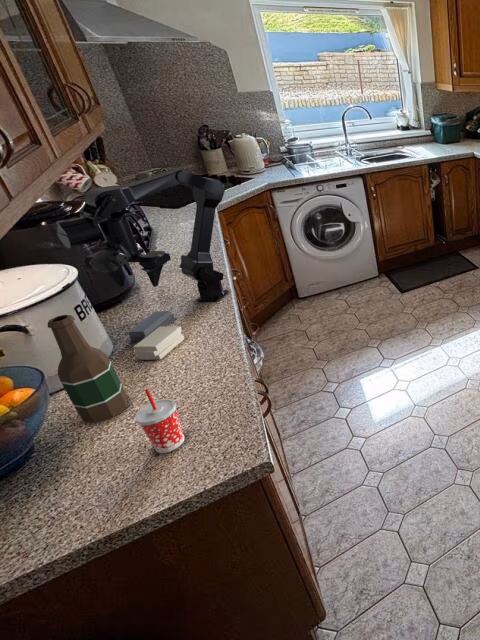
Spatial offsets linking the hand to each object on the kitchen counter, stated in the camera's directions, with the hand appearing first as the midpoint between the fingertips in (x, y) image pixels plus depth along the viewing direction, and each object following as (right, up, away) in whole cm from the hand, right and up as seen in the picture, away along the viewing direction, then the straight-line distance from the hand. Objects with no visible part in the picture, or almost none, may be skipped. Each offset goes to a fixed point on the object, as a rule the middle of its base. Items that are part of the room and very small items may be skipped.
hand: (139, 286), depth 116 cm
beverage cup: (+37, -29, -34) cm, 58 cm away
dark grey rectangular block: (+3, -13, +1) cm, 13 cm away
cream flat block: (+12, -16, -6) cm, 21 cm away
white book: (+12, -14, -8) cm, 20 cm away
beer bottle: (+17, -26, -26) cm, 40 cm away
